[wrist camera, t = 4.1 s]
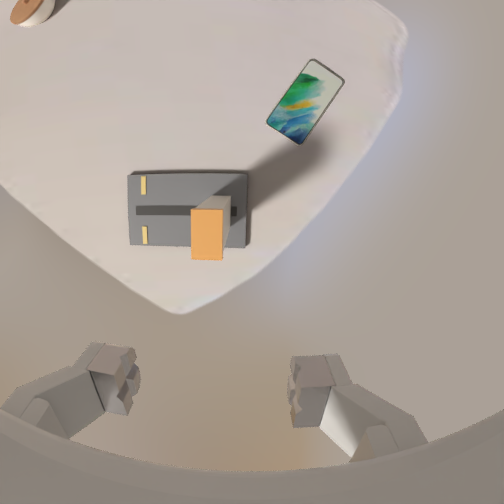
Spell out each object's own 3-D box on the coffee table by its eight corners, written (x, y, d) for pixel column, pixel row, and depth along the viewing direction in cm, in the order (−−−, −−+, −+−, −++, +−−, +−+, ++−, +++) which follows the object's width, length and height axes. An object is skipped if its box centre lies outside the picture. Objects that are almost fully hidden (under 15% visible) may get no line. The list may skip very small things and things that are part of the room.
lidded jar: (33, 7, 30) (12, -5, 21) (66, -11, 30) (47, -27, 21) (24, 39, 33) (1, 29, 24) (57, 21, 33) (35, 7, 24)
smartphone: (346, 80, 40) (301, 147, 43) (344, 82, 41) (299, 147, 44) (310, 56, 38) (263, 122, 42) (309, 58, 39) (262, 123, 43)
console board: (247, 174, 45) (247, 174, 44) (245, 246, 48) (245, 248, 47) (129, 175, 44) (127, 175, 43) (132, 243, 47) (129, 245, 46)
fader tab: (231, 195, 44) (222, 210, 28) (230, 227, 46) (222, 260, 30) (211, 194, 44) (190, 209, 28) (210, 227, 46) (191, 259, 29)
